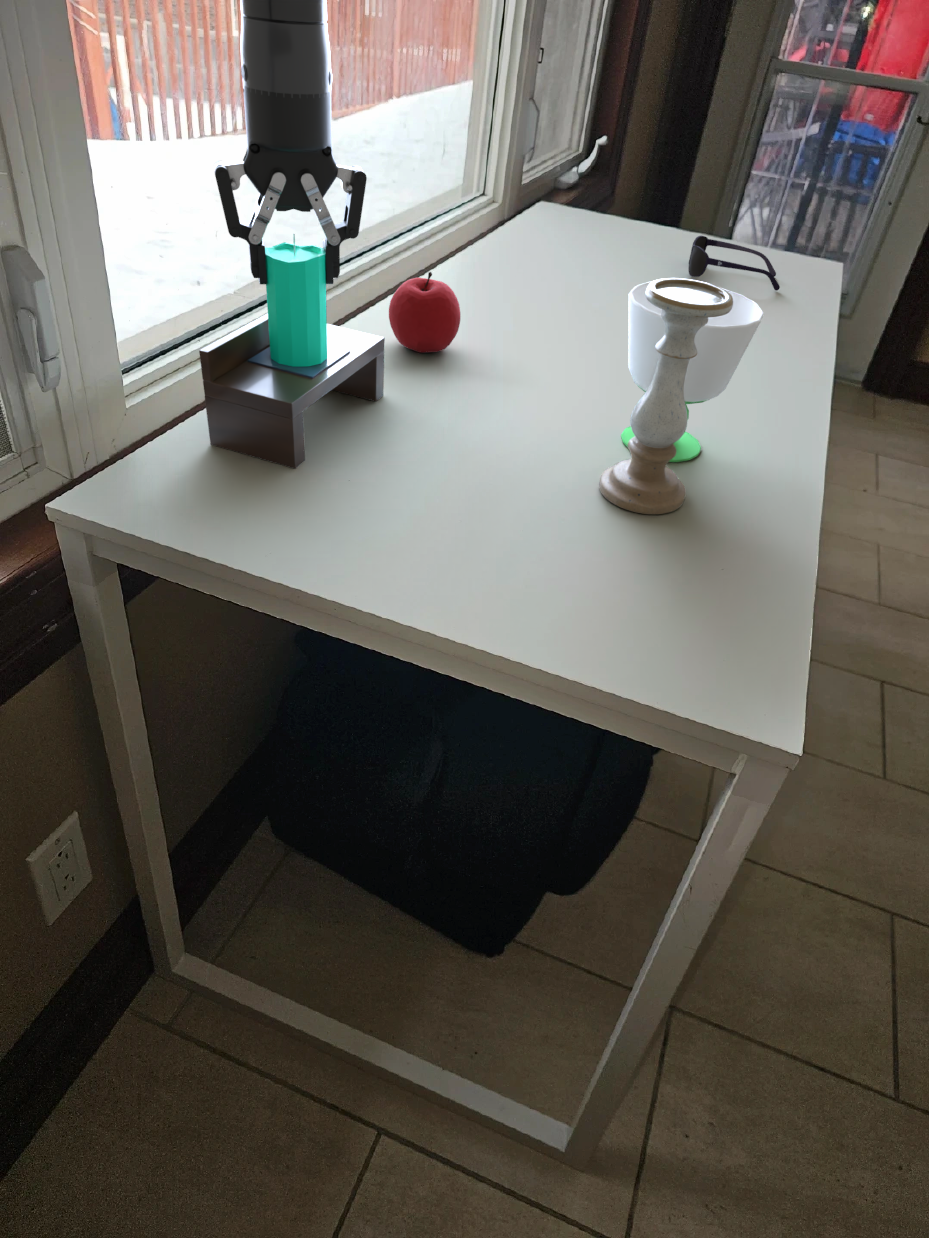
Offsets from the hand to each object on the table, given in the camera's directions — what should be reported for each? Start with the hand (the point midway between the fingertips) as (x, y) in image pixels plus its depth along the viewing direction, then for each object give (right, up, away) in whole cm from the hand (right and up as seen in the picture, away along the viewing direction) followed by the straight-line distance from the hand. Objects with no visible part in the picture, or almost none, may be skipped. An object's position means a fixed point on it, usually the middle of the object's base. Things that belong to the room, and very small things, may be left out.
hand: (295, 281), depth 83 cm
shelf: (-1, -11, +9) cm, 15 cm away
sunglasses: (+64, +26, +64) cm, 94 cm away
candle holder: (+35, -21, +3) cm, 41 cm away
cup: (+39, -14, +12) cm, 43 cm away
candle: (-1, -6, +5) cm, 8 cm away
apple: (+11, +2, +28) cm, 30 cm away
